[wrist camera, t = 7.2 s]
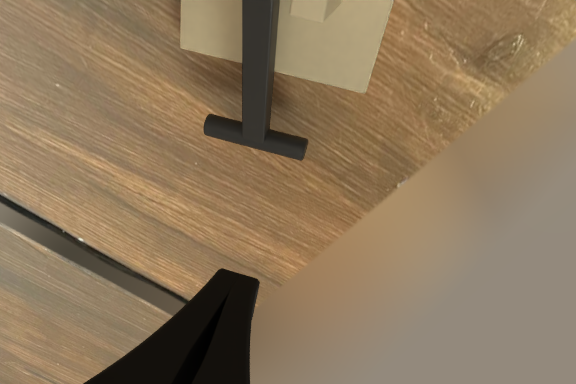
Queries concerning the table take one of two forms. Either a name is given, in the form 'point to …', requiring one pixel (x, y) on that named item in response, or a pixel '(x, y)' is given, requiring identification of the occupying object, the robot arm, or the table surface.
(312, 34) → the bracket
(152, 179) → the table surface
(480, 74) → the table surface
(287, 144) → the lever
